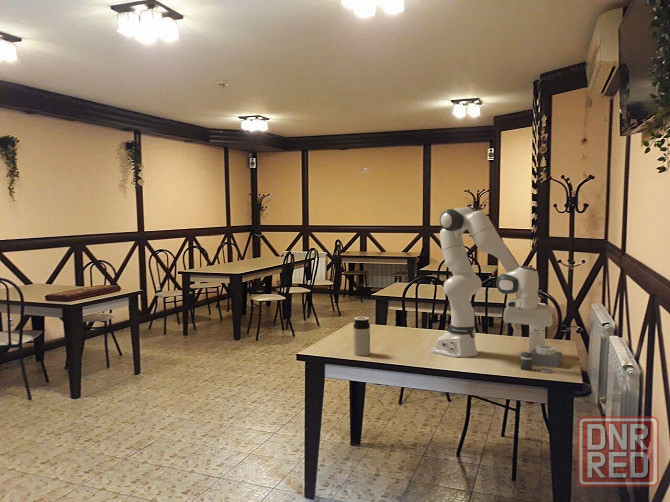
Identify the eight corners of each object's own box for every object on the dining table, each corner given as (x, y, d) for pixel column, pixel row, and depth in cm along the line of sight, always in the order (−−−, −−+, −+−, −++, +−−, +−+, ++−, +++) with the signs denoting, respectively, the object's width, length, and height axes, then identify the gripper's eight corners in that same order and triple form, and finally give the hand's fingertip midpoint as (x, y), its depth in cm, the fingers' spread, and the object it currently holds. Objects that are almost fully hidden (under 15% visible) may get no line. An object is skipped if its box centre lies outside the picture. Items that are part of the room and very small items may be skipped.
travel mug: (351, 355, 250) (351, 318, 249) (356, 351, 258) (356, 316, 257) (367, 356, 247) (367, 319, 246) (371, 352, 255) (371, 316, 254)
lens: (519, 369, 224) (519, 353, 224) (522, 367, 228) (522, 351, 228) (530, 371, 222) (530, 355, 221) (532, 368, 225) (533, 353, 225)
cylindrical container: (543, 357, 243) (544, 305, 242) (527, 355, 247) (528, 304, 245) (545, 354, 249) (546, 303, 248) (530, 352, 253) (531, 302, 252)
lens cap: (538, 372, 221) (538, 370, 220) (541, 369, 225) (541, 367, 225) (550, 374, 218) (550, 372, 218) (553, 371, 222) (553, 369, 222)
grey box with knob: (529, 363, 233) (529, 347, 233) (534, 359, 241) (534, 343, 240) (557, 367, 226) (557, 351, 226) (561, 363, 234) (562, 346, 233)
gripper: (554, 304, 220) (554, 336, 221) (506, 300, 232) (506, 330, 232) (551, 306, 215) (551, 338, 216) (502, 302, 226) (502, 333, 227)
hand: (527, 334), depth 224 cm, fingers open, 8 cm apart
